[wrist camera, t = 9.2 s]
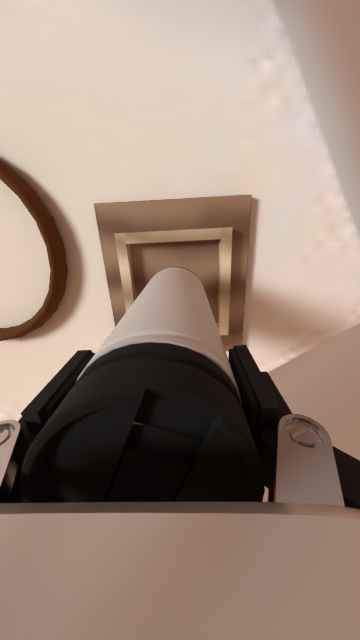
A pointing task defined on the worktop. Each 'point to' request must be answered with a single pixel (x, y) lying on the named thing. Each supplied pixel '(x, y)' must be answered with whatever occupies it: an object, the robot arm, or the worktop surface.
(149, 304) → the travel mug
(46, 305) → the decorative ring
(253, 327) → the worktop surface
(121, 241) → the walnut coaster board
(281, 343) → the worktop surface
